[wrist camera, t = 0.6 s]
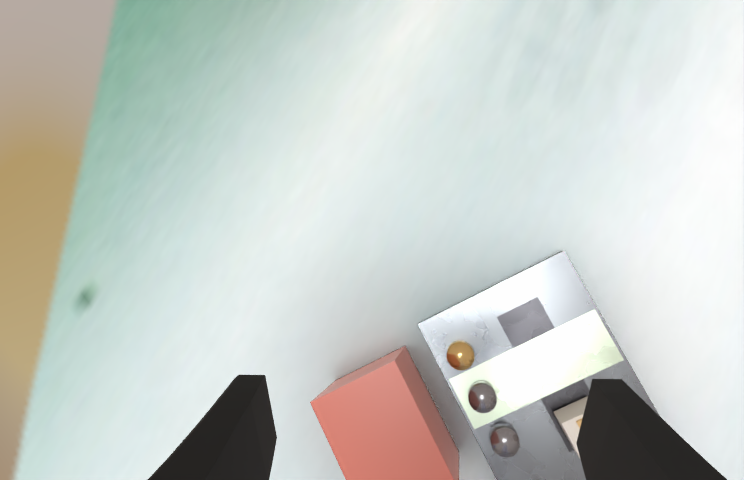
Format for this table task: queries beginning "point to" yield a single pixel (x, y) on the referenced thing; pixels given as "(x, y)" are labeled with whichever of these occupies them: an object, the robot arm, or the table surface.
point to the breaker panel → (527, 366)
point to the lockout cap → (386, 424)
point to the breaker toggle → (572, 420)
